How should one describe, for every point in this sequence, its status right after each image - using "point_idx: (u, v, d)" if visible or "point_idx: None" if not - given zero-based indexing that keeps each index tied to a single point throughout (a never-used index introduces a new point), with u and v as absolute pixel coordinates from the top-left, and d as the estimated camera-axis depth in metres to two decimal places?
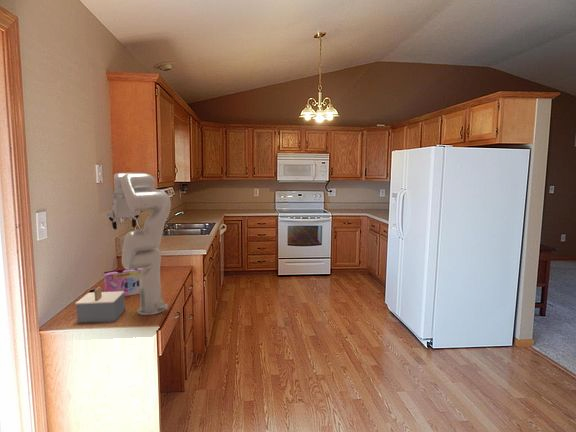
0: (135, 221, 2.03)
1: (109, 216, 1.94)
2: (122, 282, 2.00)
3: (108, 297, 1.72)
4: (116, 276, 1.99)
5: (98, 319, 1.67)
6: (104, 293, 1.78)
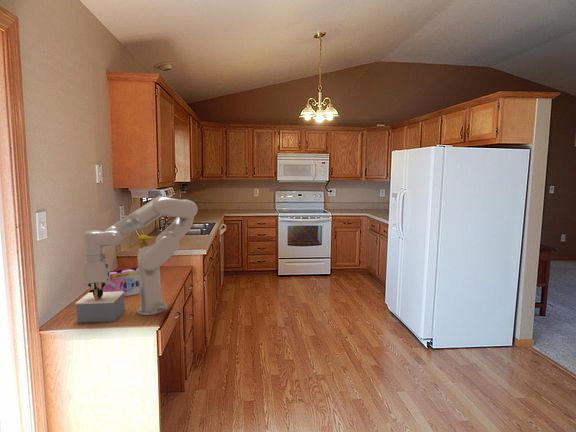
0: (94, 289, 1.70)
1: None
2: (121, 282, 2.00)
3: (108, 297, 1.72)
4: (115, 276, 1.98)
5: (98, 319, 1.67)
6: (104, 293, 1.78)
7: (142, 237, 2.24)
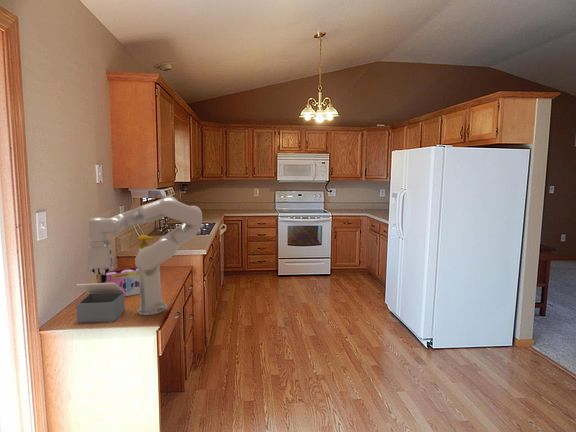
0: None
1: None
2: (120, 282, 2.00)
3: None
4: (115, 276, 1.98)
5: (98, 319, 1.67)
6: None
7: (142, 237, 2.24)
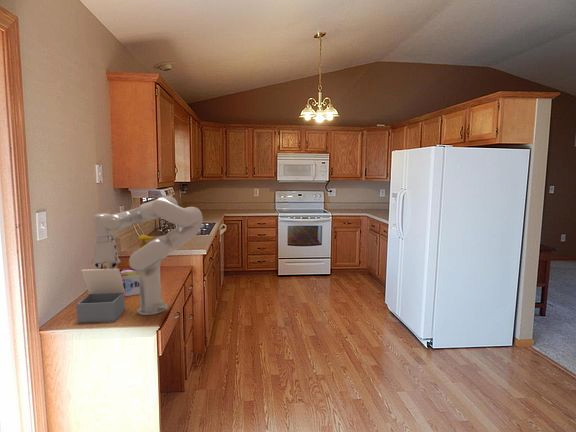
0: None
1: None
2: None
3: None
4: None
5: (98, 319, 1.67)
6: None
7: (142, 237, 2.24)
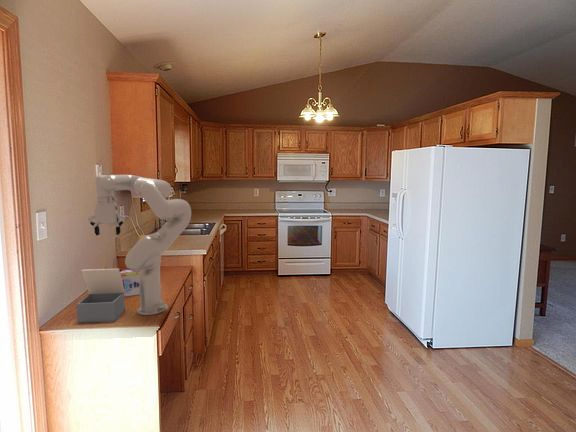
0: None
1: None
2: None
3: None
4: None
5: (98, 319, 1.67)
6: None
7: None
